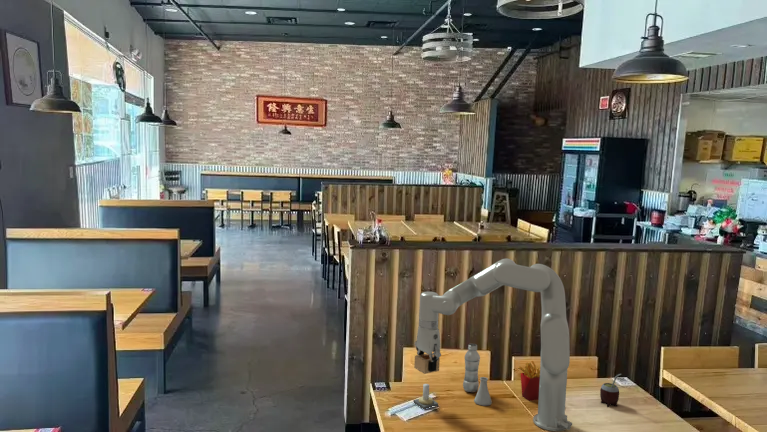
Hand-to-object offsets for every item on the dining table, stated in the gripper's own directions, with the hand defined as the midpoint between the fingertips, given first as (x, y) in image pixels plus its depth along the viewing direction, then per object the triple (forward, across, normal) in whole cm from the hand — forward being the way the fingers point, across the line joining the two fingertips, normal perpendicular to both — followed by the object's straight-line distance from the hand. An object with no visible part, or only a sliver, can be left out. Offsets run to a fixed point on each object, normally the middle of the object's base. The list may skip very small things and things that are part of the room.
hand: (426, 367), depth 208 cm
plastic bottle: (+15, +2, -25) cm, 29 cm away
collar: (+1, 0, 0) cm, 1 cm away
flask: (+15, -9, -22) cm, 28 cm away
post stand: (+15, 0, 0) cm, 15 cm away
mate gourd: (+15, -35, -67) cm, 77 cm away
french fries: (+15, -14, -42) cm, 47 cm away
